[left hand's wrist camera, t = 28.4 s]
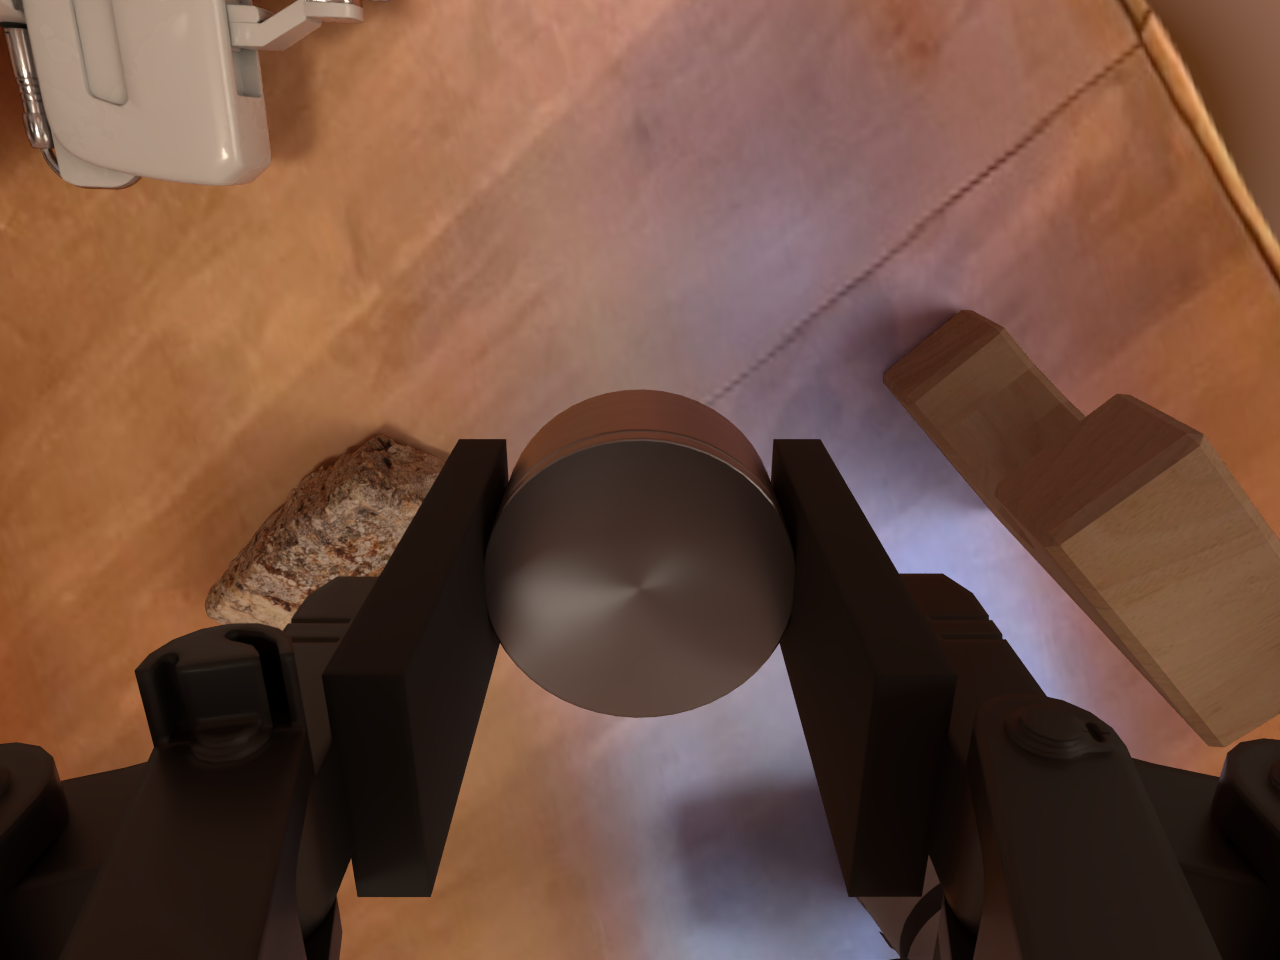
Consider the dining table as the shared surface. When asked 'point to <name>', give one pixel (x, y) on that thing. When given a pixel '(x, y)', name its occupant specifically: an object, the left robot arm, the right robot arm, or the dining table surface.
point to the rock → (326, 532)
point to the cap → (639, 557)
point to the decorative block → (1114, 519)
